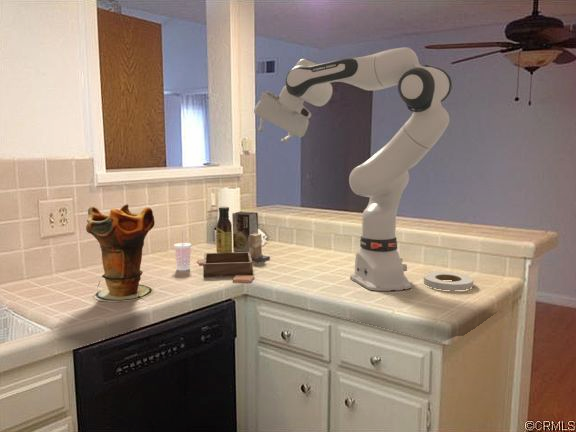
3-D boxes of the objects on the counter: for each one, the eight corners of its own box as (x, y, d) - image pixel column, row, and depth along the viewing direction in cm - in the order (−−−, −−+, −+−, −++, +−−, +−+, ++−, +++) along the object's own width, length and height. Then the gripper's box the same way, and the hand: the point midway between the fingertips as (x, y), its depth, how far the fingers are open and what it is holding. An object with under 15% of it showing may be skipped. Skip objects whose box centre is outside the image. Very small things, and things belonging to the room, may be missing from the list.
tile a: (215, 265, 195) (215, 261, 195) (199, 266, 194) (199, 262, 193) (212, 261, 201) (212, 258, 201) (197, 263, 199) (197, 259, 199)
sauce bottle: (215, 254, 211) (214, 206, 208) (230, 253, 213) (229, 205, 210) (218, 258, 205) (217, 208, 202) (233, 257, 207) (232, 207, 204)
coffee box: (258, 250, 219) (258, 212, 217) (249, 253, 214) (249, 214, 211) (241, 247, 224) (241, 210, 222) (232, 250, 219) (231, 212, 216)
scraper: (269, 259, 203) (269, 234, 201) (260, 262, 197) (259, 237, 196) (251, 256, 208) (250, 232, 206) (241, 259, 202) (240, 234, 201)
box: (252, 275, 179) (252, 262, 179) (203, 276, 177) (203, 264, 176) (249, 263, 196) (249, 251, 195) (204, 265, 194) (204, 253, 193)
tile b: (250, 284, 170) (250, 280, 170) (232, 283, 171) (232, 279, 171) (254, 279, 176) (254, 275, 176) (236, 278, 177) (236, 274, 177)
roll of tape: (482, 286, 166) (482, 277, 166) (456, 296, 156) (456, 286, 156) (440, 277, 178) (440, 268, 177) (413, 285, 168) (413, 276, 167)
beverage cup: (194, 266, 191) (192, 229, 189) (189, 271, 185) (188, 232, 183) (177, 266, 192) (176, 229, 190) (172, 270, 186) (171, 232, 184)
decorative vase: (129, 277, 175) (128, 195, 170) (173, 293, 160) (172, 204, 155) (70, 292, 159) (66, 202, 154) (113, 311, 145) (110, 213, 139)
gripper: (265, 89, 179) (247, 125, 182) (315, 116, 185) (296, 150, 188) (262, 87, 184) (245, 122, 188) (311, 113, 191) (293, 146, 194)
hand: (271, 136), depth 188 cm, fingers open, 8 cm apart
